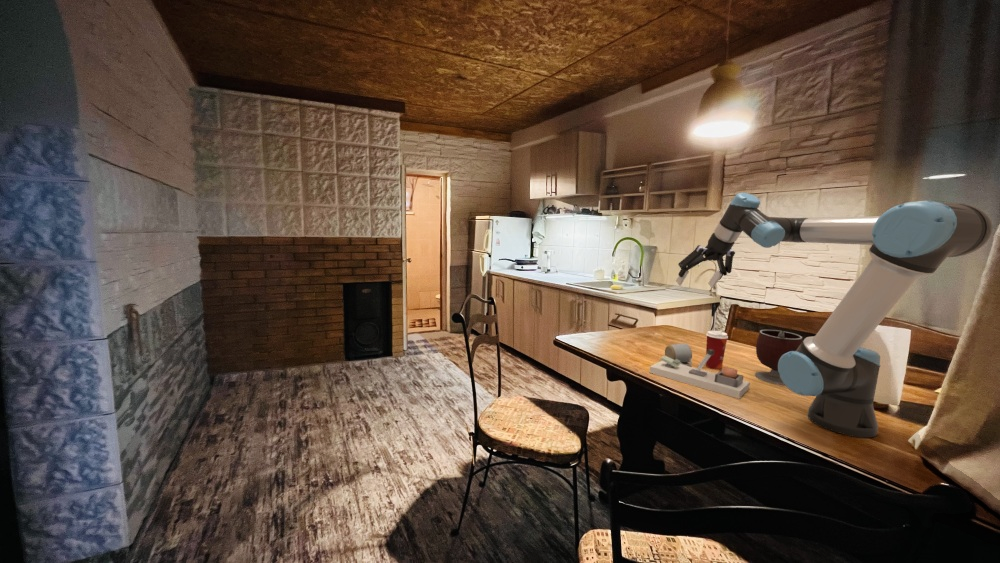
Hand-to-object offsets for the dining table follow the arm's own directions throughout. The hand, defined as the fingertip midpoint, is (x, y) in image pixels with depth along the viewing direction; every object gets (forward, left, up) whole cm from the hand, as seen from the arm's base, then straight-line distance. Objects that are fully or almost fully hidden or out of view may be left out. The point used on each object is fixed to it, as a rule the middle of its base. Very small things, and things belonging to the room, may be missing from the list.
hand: (694, 284), depth 149 cm
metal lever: (-7, +8, -29) cm, 31 cm away
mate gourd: (-26, -16, -34) cm, 46 cm away
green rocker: (+3, +8, -29) cm, 31 cm away
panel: (-7, +8, -33) cm, 35 cm away
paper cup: (-6, -13, -34) cm, 37 cm away
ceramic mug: (+5, -7, -34) cm, 35 cm away
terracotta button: (-17, +8, -29) cm, 34 cm away
